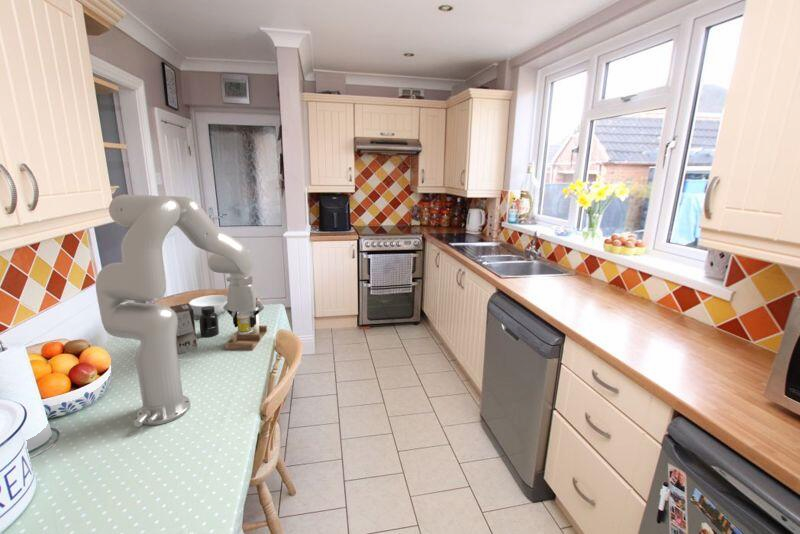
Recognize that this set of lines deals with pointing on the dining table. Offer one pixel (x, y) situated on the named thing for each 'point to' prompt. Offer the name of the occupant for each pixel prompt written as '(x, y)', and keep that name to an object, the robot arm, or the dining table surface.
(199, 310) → the cereal bowl
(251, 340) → the rack
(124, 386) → the dining table surface
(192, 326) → the coffee box
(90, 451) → the dining table surface
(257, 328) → the rod
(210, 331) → the supplement bottle
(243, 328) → the supplement bottle
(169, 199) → the robot arm
